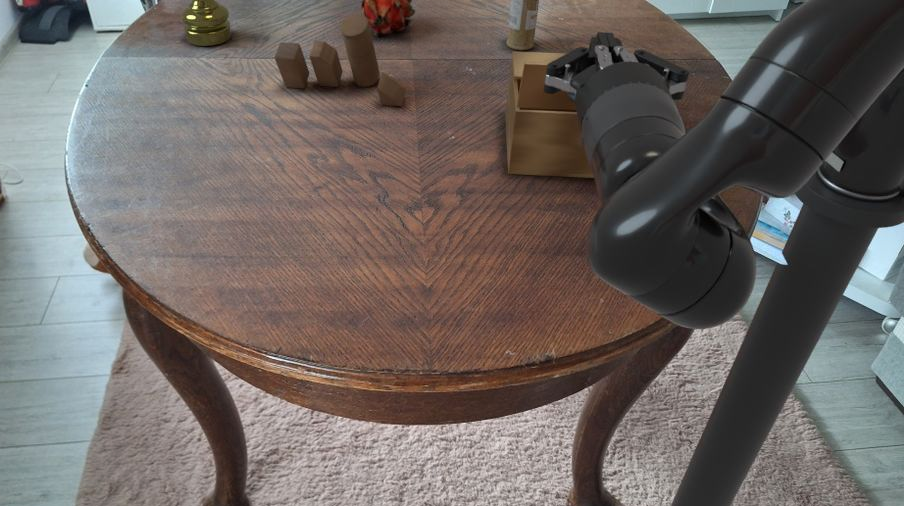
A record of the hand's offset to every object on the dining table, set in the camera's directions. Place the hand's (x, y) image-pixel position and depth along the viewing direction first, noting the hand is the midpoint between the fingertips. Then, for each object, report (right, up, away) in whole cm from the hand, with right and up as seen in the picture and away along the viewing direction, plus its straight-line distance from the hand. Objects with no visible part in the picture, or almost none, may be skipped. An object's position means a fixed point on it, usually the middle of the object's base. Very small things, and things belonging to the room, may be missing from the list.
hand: (602, 41), depth 72 cm
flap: (0, -2, +9) cm, 9 cm away
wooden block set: (-28, +5, +36) cm, 46 cm away
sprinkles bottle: (-1, +15, +48) cm, 50 cm away
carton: (+1, -6, +24) cm, 25 cm away
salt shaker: (-52, +17, +49) cm, 73 cm away
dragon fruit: (-22, +19, +52) cm, 60 cm away
